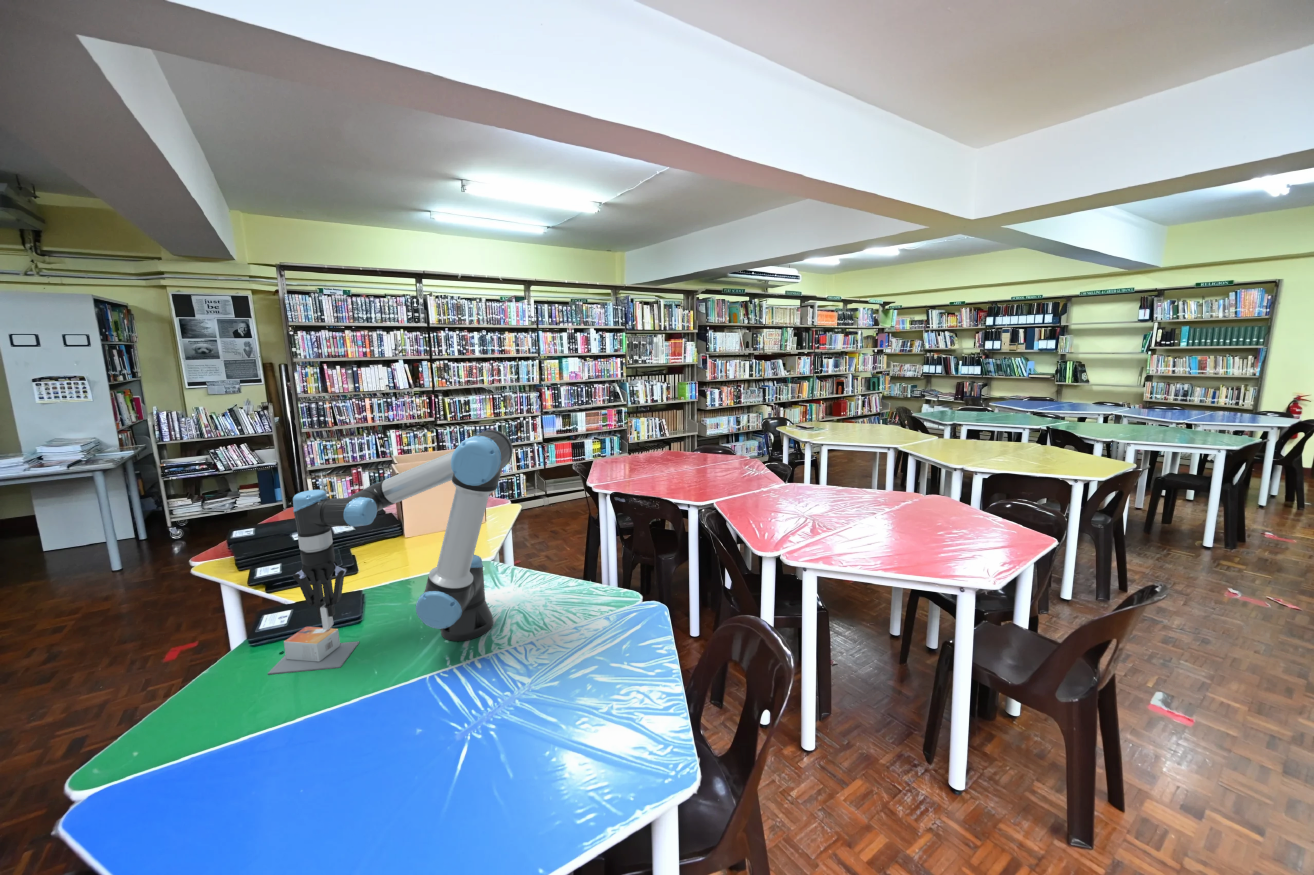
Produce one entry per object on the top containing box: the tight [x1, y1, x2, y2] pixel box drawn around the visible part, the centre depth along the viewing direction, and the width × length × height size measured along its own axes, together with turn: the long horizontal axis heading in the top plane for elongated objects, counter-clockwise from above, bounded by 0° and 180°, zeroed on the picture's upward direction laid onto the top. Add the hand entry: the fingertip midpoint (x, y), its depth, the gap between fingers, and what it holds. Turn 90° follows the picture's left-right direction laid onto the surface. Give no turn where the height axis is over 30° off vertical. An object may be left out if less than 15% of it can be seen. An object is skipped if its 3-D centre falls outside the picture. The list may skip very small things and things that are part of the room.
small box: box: [283, 626, 341, 662], centre depth 142 cm, size 8×6×10 cm
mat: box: [267, 640, 360, 676], centre depth 141 cm, size 18×12×1 cm, turn 98°
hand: (328, 626), depth 140 cm, fingers closed
